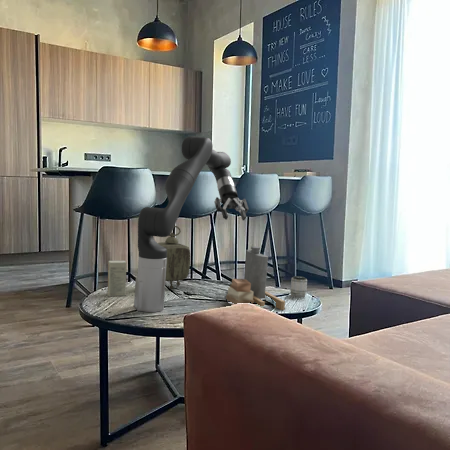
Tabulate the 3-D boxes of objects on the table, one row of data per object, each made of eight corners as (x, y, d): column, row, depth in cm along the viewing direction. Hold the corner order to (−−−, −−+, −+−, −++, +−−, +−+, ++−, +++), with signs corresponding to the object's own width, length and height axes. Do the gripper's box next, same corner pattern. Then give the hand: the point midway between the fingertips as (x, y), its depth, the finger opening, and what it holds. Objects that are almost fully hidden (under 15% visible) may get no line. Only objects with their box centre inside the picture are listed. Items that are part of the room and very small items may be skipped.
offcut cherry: (236, 291, 158) (237, 283, 157) (231, 286, 164) (232, 278, 164) (250, 291, 159) (250, 283, 159) (244, 287, 166) (245, 279, 165)
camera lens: (288, 293, 184) (290, 275, 184) (303, 294, 185) (305, 275, 184) (292, 297, 178) (293, 278, 178) (307, 298, 179) (309, 279, 178)
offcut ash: (238, 300, 157) (238, 292, 157) (227, 295, 164) (228, 287, 164) (252, 299, 160) (253, 291, 159) (242, 294, 167) (242, 286, 166)
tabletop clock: (180, 284, 186) (184, 224, 184) (190, 289, 179) (194, 227, 176) (147, 286, 179) (151, 224, 176) (156, 292, 171) (160, 226, 169)
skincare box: (124, 293, 166) (126, 260, 165) (125, 296, 162) (127, 262, 161) (106, 293, 164) (108, 259, 163) (107, 296, 160) (108, 262, 159)
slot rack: (260, 310, 156) (261, 302, 155) (229, 291, 181) (230, 283, 181) (284, 309, 159) (285, 301, 159) (250, 290, 185) (251, 283, 185)
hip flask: (265, 303, 166) (270, 250, 164) (255, 303, 165) (260, 249, 163) (249, 292, 181) (253, 243, 179) (239, 293, 179) (243, 243, 178)
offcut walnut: (235, 309, 156) (236, 301, 156) (225, 302, 165) (226, 294, 165) (253, 308, 159) (254, 300, 159) (243, 302, 167) (243, 294, 167)
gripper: (214, 182, 190) (222, 212, 180) (244, 184, 195) (254, 213, 185) (208, 194, 195) (216, 224, 185) (239, 196, 200) (247, 225, 191)
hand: (235, 218), depth 185 cm, fingers open, 7 cm apart
